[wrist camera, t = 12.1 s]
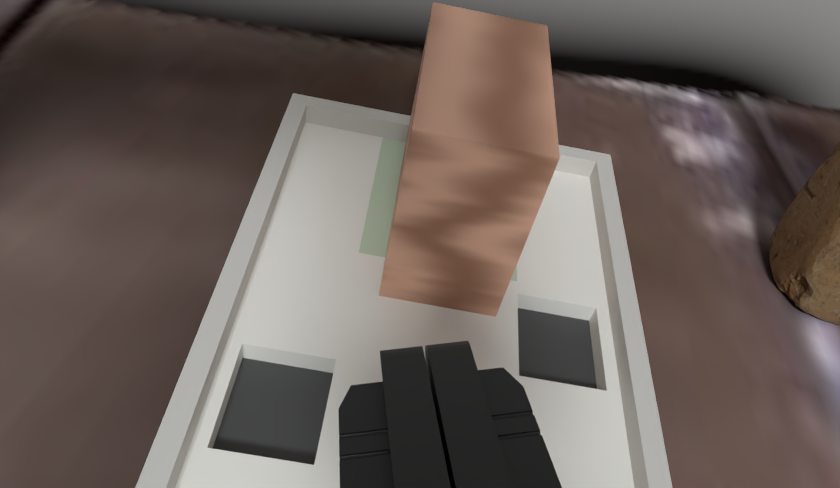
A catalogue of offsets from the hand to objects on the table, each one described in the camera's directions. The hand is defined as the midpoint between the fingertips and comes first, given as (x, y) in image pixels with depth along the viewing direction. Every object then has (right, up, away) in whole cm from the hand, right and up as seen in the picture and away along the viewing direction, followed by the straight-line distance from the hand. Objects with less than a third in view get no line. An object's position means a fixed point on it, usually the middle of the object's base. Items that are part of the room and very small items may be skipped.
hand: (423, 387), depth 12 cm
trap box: (+1, -2, +29) cm, 30 cm away
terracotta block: (+2, +3, +33) cm, 33 cm away
